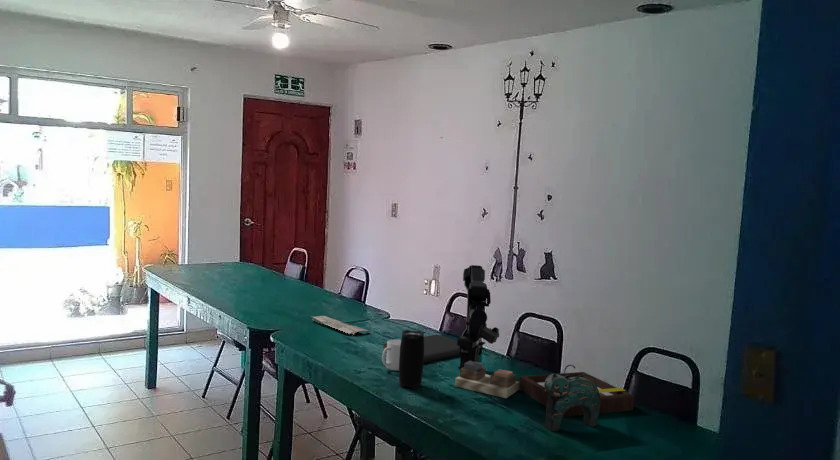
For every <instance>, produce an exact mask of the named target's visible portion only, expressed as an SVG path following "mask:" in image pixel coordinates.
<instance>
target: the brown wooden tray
mask: <svg viewBox="0 0 840 460" xmlns="http://www.w3.org/2000/svg"><path fill="white" fill-rule="evenodd" d="M551 374H552V373H549V374H546V373H545V374H534V375H521V376H519V390H518V391H520V392H522V393H524V394H526V395H528V396H529V397H530V398H532V399H534V400H536V402H539V403H540V404H541V405H543V406H545V407H546V406H547V401H548V396H549V394H548V393H547V391H546V390H545V380H546V378H547V377H548V376H549V375H551ZM557 374H558V375H561V376H569V377H568V378H571V377H577V376H579V375H582V374H588V375H590V374H589V373H587V372H585V371H579V372H565V375H564V372H562V373H557ZM580 377H583V378H586V379H588V380H590V381H592V382H593V383H594V384H595V381H594V379H593V378H592V377H590V376H580ZM593 377H594V378H595V380H596V385H597V388H598V390H599V394H600V399H601V405H600V411H599V414H608V413H618V412H627V411H630V412H631V411H634V402H635V401H634V400H635V396H634V395H633V394H631V393H629V392H628V390H626V389H624V388H621V387H617V386H615V385H612V384H610V383H608V382H606V381H603V380H601V379H600V378H597V377H595V376H593ZM577 416H584V414H583V409H582V408H581V407H580V406H575V407H572V408H569V409H568V410H567V411H566V413H565V415H564V416H563V418H564V417H565V418H567V417H577Z"/></svg>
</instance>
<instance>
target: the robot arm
mask: <svg viewBox="0 0 840 460" xmlns="http://www.w3.org/2000/svg"><path fill="white" fill-rule="evenodd" d="M485 277H486V270H485V269H484V268H483V266H481V265H477V264H476V265H475V264H471V265H469V267H467V268H464V270H463V274H462V281H463V282H464V283H463V284H464V287H465V289H466V291H467V294H466V295H467V296H466V298H467V301H466V303H467V304H466V322H465V329H464V331H463V332H462V335H461V336H460V337H458V339H456V340H457V346H459V354H461V356H460V358H459V359H460V360H459V366H457V369H459V370H460V369H461V368H463V367H464V363H466V362H468V361H472V362H480V358H479V356H481V355H482V353H483V347H484V345H486V343H489V344H494V343H496V342H497V340H498V339H499V338H500V333H499V332H500V329H499V328H498V327H497V326H495V327H493V328H491V327H490V328H489V327H487V326H488V325H487V320H488V315H487V312H486V307H490V305H491V301H492V298H491V292H490V289H488V286H487V284H486V283H485V280H486V278H485ZM483 340H484V341H483ZM485 341H486V342H485ZM461 349H463V350H461Z"/></svg>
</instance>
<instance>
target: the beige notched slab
mask: <svg viewBox="0 0 840 460" xmlns="http://www.w3.org/2000/svg"><path fill="white" fill-rule="evenodd" d="M310 317H311V318H312V319H311V321H312V320H313V321H316V322H318V323H317V324H319V323H321V324H320V325H322V324H324V325H323V326H325V325H328V326H330V327H332V328H331V329H333V328H335V329H334V330H336V329H338V330H337V331H339V330H340V331H339V332H341V331H343V332H342V333H344V332H345V333H344V334H347V333H348V334H347V335H350V334H353V335H355V334H356V333H357V332H360V331H367V332H371V331H370V330H368V329H365V328H362V327H359V326H356V325H353V324H350V323H348V322H347V323H346V322H343V321H340V320H338V319H335V318H331V317H329V316H327V315H319V316H318V315H317V316H311V315H310ZM313 321H312V322H313ZM316 322H315V323H316ZM330 327H329V328H330ZM353 335H352V336H353Z"/></svg>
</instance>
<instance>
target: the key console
mask: <svg viewBox="0 0 840 460" xmlns="http://www.w3.org/2000/svg"><path fill="white" fill-rule="evenodd" d="M454 380H455V382H454V387H456V388H461V389H465V390H469V391H473V392H478V393H481V394H482V393H483V394H487V395H490V396H494V397H500V398H503V399H508V398H509V397H510V396H512V395H513V394H515V393H516V392H518V391H520V390H519V381H520V380H519V381H518V380H517V374H514V373H513V376H511V377H510V378H508V379H507V378H503V377H498V376H494V373H492V374H490V375H489V374H487V373H486V368H485V367H482V369H481V370H480V371H478V372H475V371H470V370H466V369H464V367H463V368H461V369H459V375H458V376H457V377H455V378H454Z"/></svg>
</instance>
